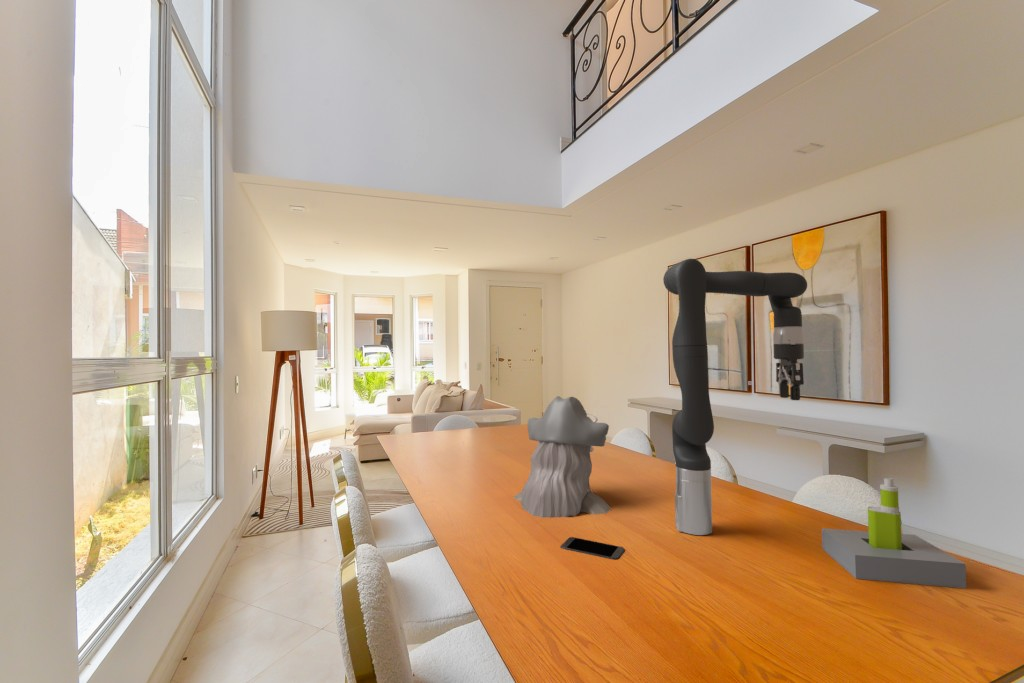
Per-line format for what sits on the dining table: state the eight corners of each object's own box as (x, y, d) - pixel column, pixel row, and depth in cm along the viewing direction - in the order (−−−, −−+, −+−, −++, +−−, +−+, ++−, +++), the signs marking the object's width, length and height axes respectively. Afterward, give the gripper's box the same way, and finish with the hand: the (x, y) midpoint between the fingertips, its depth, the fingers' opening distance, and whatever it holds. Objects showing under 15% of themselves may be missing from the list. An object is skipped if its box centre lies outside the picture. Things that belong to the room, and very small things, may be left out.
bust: (626, 496, 157) (625, 395, 159) (590, 527, 128) (589, 403, 130) (540, 483, 175) (539, 392, 177) (491, 507, 146) (491, 398, 148)
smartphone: (617, 562, 107) (617, 558, 107) (558, 549, 114) (558, 545, 114) (626, 550, 113) (626, 547, 113) (570, 539, 121) (570, 536, 121)
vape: (905, 572, 100) (901, 481, 101) (870, 566, 104) (867, 477, 104) (901, 566, 104) (898, 477, 105) (868, 560, 107) (865, 474, 108)
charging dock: (855, 578, 98) (855, 555, 98) (822, 548, 113) (821, 528, 114) (966, 588, 93) (965, 563, 94) (915, 555, 109) (914, 534, 109)
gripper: (766, 343, 140) (767, 396, 139) (782, 342, 126) (784, 400, 125) (793, 343, 138) (794, 397, 137) (812, 341, 124) (814, 401, 123)
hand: (789, 398), depth 131 cm, fingers open, 8 cm apart
